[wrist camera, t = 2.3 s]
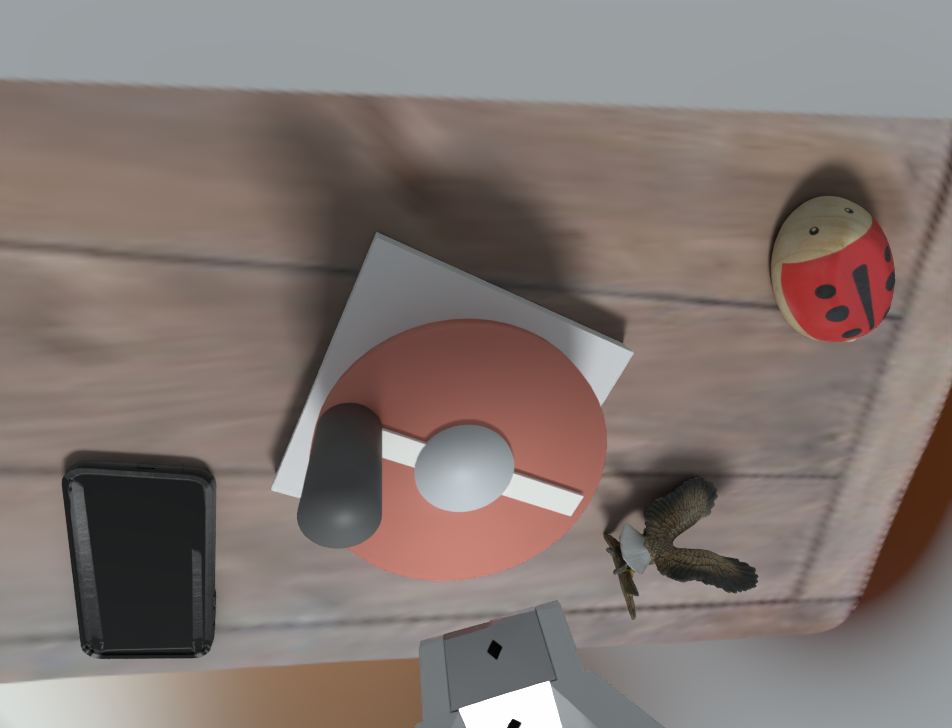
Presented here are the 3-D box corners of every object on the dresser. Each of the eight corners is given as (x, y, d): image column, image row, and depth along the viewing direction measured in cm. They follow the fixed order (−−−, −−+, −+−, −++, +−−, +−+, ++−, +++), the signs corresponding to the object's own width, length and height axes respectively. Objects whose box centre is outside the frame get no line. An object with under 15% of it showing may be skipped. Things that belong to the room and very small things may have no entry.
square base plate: (275, 474, 32) (260, 525, 28) (376, 231, 27) (374, 249, 23) (504, 539, 37) (519, 589, 33) (623, 343, 32) (658, 374, 28)
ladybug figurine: (843, 167, 30) (898, 172, 27) (884, 299, 34) (936, 316, 31) (742, 238, 31) (783, 251, 28) (794, 358, 35) (835, 381, 32)
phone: (82, 658, 34) (59, 466, 29) (91, 643, 35) (70, 455, 30) (212, 658, 36) (214, 476, 30) (217, 643, 37) (220, 465, 31)
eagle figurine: (627, 597, 40) (749, 566, 38) (634, 641, 33) (783, 605, 31) (592, 499, 41) (709, 465, 39) (592, 522, 34) (734, 481, 32)
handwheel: (648, 381, 28) (732, 460, 21) (517, 586, 32) (552, 705, 26) (381, 266, 23) (380, 321, 16) (271, 524, 28) (235, 649, 21)
